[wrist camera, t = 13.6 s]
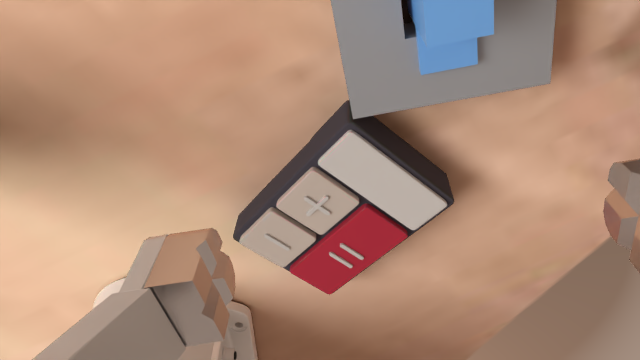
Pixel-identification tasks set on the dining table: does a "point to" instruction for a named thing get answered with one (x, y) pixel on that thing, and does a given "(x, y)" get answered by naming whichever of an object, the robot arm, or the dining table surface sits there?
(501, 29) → the chassis deck
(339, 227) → the calculator
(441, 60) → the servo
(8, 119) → the dining table surface
